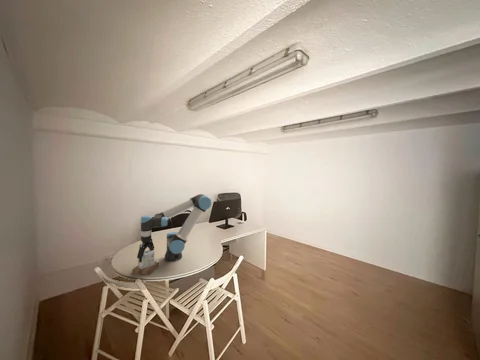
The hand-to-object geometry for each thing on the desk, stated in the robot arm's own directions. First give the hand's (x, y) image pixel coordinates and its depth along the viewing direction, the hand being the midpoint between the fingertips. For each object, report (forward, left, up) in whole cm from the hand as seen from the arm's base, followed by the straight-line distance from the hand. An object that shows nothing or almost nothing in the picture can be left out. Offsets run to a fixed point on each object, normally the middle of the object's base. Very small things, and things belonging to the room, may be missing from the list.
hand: (146, 261), depth 157 cm
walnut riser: (0, 0, -6) cm, 6 cm away
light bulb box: (0, 0, -3) cm, 3 cm away
